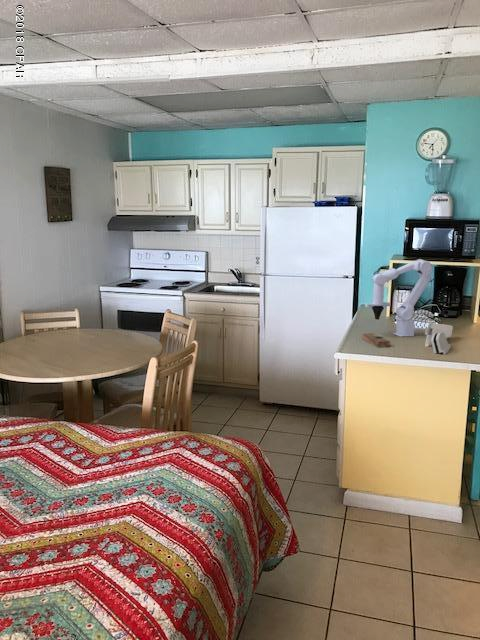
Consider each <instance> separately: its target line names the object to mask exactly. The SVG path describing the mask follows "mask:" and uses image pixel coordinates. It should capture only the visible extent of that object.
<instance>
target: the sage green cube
mask: <svg viewBox="0 0 480 640" xmlns="http://www.w3.org/2000/svg"><path fill="white" fill-rule="evenodd" d="M375 334H376V335H373V337H375V338H377V339H379V338H384V336H383V335H381V334H377V333H375Z"/></svg>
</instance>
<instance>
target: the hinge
mask: <svg viewBox="0 0 480 640" xmlns="http://www.w3.org/2000/svg"><path fill="white" fill-rule="evenodd" d="M431 346H432V350H433V353H434V354H435V353H436V354H438V353H439V354H441V353H443V355H444V354H445V355H446V354H447V353H448V352H449V351H450V350H449V349H450V348H451V349H452V346H451V343H448V338H447V339H446V336H445V334H444V333H436V334H434V335H433V336H432V339H431Z"/></svg>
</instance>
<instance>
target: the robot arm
mask: <svg viewBox="0 0 480 640" xmlns="http://www.w3.org/2000/svg"><path fill="white" fill-rule="evenodd" d="M432 270H433V266H432V264H431V262H430V261H428V260H424V259H421V258H418V259H416V260H413V261H411V262H409V263H407V264H404V265H402V266H400V267H398V268H394V267H393V268H392V267H389V268H388V270H385V271H381V272H380V273H376V274H374V275H373V277H372V279H371V280H372V282H373V292H372V293H373V294H372V302H369V303H368V302H367V303H365V304H364V305H365V308H371V309H372V312H373V314H374V319H375V320H377V321H378V320H380V317H381V315H382V312H383V311H384V309H385V308H384V307H391V302H388V301H387V302H384V295H385V285H386V283H387V282H390V281H392V280H396V279H397V278H398V277H399V275H401V274H404V273H407V272H409V271H416V272H417V273H418V277H419V278H418V280H417V282H416V283H415V285H414V287H413V288H412V290H411V292H409V295H408V296H407V298H406V300H405V302H403V303H401V305H400V306H398V307H397V309H396V311H395V315H396V316H397V318H396V327H395V328H396V329H395V332H392V334H393V335H396V336H398V337H402V338H403V337H414V336H415V325H416V324H415V321H414V319H412V317H413V314H414V313H413V312H414V311H415V308H414V307H415V305H416V303H417V302H418V301H419V299H420V297H421V296H422V294H423V292H424V290H425V289H426V288H427V286H428V284H429V283H430V281H431V278H432Z"/></svg>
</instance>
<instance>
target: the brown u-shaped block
mask: <svg viewBox="0 0 480 640" xmlns="http://www.w3.org/2000/svg"><path fill="white" fill-rule="evenodd" d="M376 334H377V333H375V332H370V333H362V334H361V335H362V336H361V340H363V341H365V342H366V343H369V344H370V345H372V346H375V347H377V348H386V347H389V348H390V347H391V340H390V339H387V338H385V337H383V338H379V339H377V338H375V337H373V335H376Z"/></svg>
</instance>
